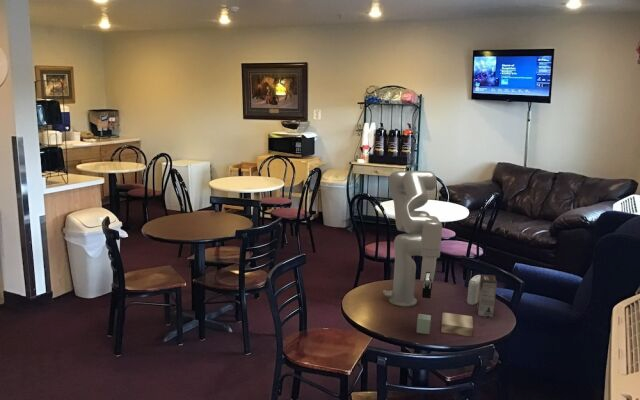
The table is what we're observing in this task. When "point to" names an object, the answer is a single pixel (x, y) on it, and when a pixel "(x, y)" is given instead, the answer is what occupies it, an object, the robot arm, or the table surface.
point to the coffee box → (486, 295)
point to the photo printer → (473, 290)
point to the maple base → (457, 324)
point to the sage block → (423, 323)
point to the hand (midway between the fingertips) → (426, 293)
